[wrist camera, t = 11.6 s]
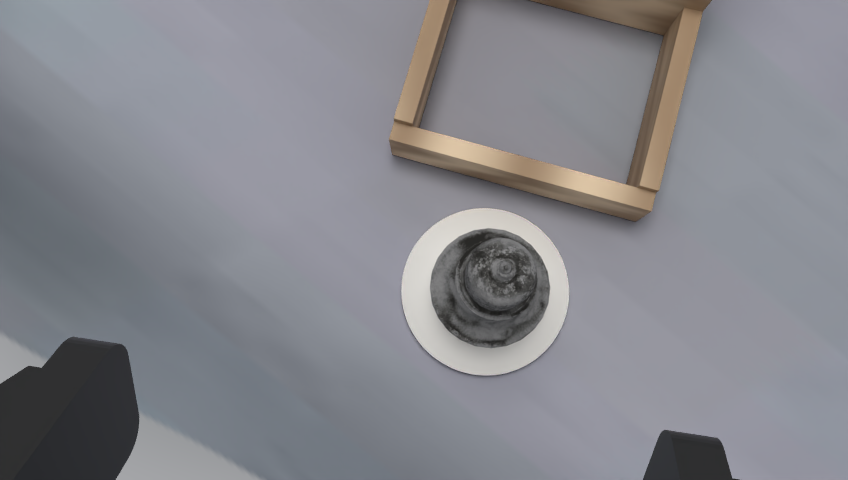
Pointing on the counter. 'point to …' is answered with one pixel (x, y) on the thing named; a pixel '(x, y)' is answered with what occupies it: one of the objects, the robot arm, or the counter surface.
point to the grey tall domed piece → (490, 288)
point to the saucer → (432, 329)
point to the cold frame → (620, 3)
